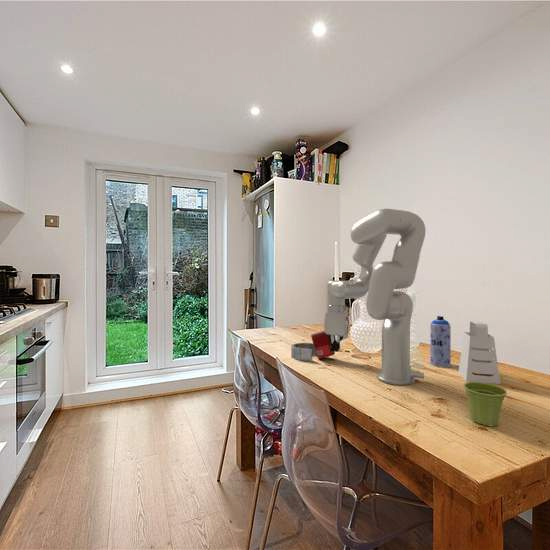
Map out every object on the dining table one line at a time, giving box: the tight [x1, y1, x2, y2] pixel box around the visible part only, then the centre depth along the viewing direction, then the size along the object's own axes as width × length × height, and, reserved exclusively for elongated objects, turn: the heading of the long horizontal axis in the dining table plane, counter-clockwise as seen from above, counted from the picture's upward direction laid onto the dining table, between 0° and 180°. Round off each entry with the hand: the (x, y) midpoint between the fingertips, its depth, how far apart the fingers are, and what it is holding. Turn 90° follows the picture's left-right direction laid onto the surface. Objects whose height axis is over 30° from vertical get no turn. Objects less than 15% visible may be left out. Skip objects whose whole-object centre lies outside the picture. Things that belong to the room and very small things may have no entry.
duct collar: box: [290, 342, 317, 362], centre depth 150 cm, size 11×13×5 cm
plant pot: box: [463, 382, 508, 426], centre depth 86 cm, size 9×9×9 cm
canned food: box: [310, 330, 336, 359], centre depth 147 cm, size 8×8×11 cm
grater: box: [457, 321, 501, 385], centre depth 120 cm, size 10×10×20 cm
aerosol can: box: [429, 315, 452, 368], centre depth 137 cm, size 8×8×20 cm
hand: (336, 350), depth 145 cm, fingers closed
